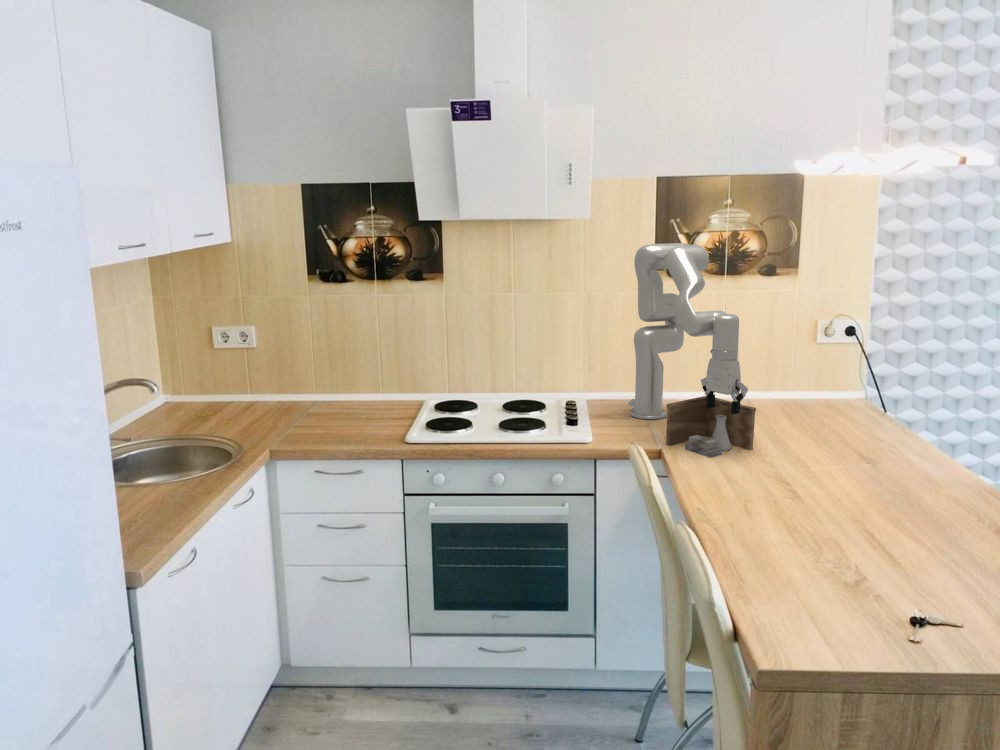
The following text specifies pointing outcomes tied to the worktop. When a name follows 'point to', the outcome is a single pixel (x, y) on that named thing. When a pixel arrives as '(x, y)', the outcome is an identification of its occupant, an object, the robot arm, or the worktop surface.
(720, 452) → the tray
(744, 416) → the brown wooden corner wall
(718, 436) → the flask
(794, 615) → the worktop surface
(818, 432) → the worktop surface
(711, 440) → the offcut top
